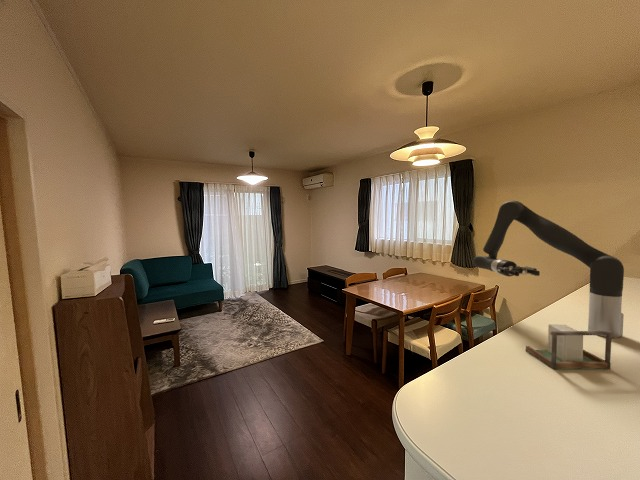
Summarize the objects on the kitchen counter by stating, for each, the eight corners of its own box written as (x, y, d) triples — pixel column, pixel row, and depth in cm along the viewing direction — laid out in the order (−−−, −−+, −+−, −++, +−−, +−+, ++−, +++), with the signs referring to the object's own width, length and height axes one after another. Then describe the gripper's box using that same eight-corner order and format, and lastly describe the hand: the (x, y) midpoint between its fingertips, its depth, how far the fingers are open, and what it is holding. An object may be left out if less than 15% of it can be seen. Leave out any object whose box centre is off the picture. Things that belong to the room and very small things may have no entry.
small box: (583, 363, 86) (584, 333, 85) (564, 362, 87) (565, 333, 86) (564, 352, 94) (565, 324, 93) (547, 351, 95) (548, 323, 94)
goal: (575, 351, 96) (577, 318, 95) (611, 369, 83) (612, 332, 83) (525, 351, 96) (526, 318, 96) (553, 369, 84) (554, 332, 84)
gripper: (489, 260, 127) (511, 265, 111) (518, 259, 127) (545, 264, 111) (488, 275, 128) (511, 282, 112) (518, 274, 127) (545, 281, 111)
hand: (528, 273), depth 111 cm, fingers open, 8 cm apart
